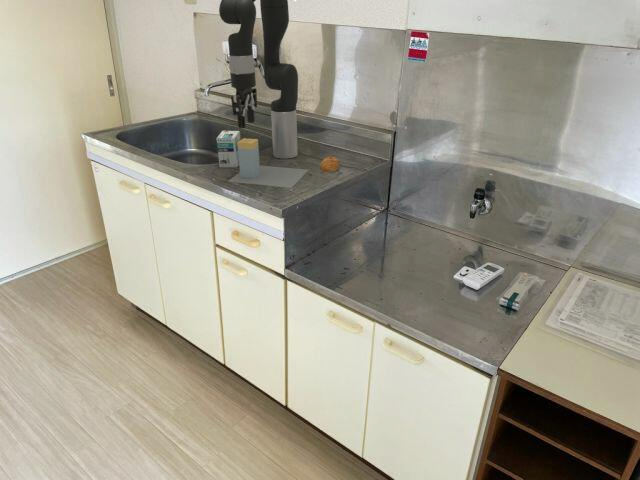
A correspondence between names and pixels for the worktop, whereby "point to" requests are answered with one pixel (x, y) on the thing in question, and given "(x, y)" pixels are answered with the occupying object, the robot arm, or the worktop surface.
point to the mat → (273, 177)
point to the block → (248, 158)
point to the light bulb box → (228, 148)
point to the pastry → (330, 165)
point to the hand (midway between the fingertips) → (246, 125)
